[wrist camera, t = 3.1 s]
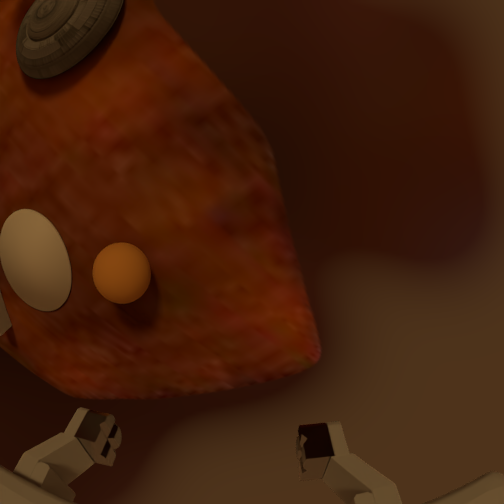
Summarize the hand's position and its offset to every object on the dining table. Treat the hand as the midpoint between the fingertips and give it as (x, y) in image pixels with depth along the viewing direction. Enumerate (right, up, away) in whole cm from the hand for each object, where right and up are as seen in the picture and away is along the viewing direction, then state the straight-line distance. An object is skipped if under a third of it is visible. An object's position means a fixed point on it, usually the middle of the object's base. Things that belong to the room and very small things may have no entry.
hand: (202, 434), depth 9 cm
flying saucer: (-18, +32, +10) cm, 39 cm away
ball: (-10, +5, +16) cm, 19 cm away
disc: (-25, +6, +18) cm, 31 cm away
